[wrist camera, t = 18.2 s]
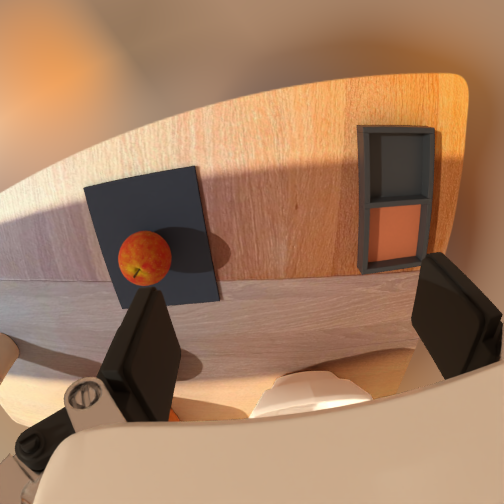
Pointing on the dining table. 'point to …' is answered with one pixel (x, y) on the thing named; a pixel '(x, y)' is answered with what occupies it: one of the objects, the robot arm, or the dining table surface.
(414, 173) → the tray
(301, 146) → the dining table surface
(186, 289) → the mat
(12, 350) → the candle
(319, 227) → the dining table surface
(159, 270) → the fruit
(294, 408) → the bowl
